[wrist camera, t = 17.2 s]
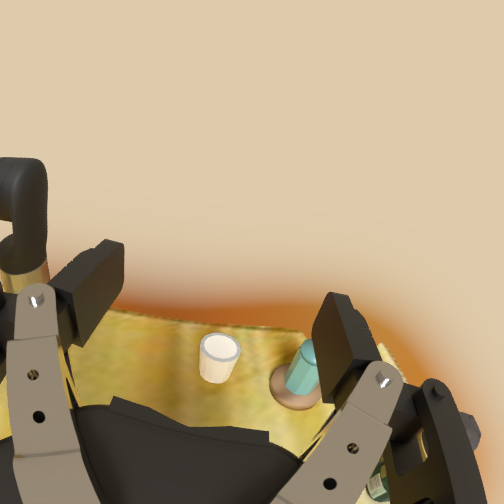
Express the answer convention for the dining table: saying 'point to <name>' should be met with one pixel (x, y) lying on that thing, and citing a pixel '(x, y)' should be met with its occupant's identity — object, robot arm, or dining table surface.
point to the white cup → (218, 357)
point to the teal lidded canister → (303, 371)
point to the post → (287, 396)
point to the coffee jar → (379, 478)
